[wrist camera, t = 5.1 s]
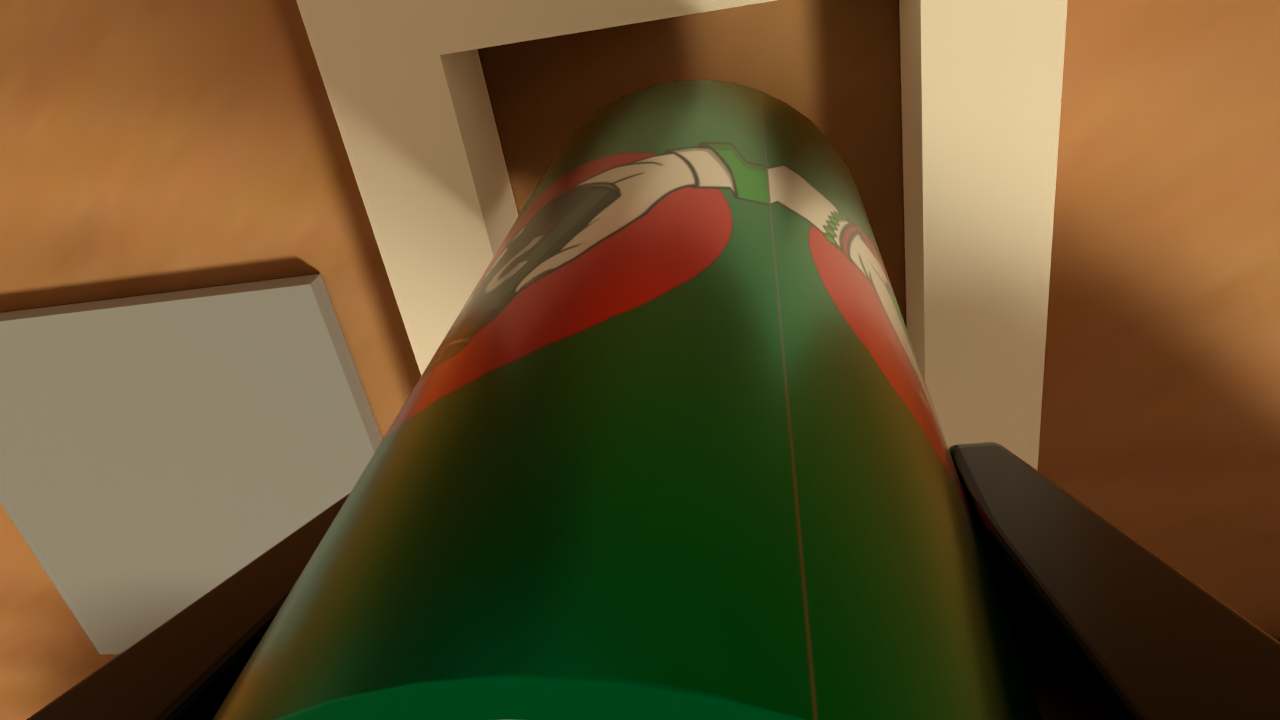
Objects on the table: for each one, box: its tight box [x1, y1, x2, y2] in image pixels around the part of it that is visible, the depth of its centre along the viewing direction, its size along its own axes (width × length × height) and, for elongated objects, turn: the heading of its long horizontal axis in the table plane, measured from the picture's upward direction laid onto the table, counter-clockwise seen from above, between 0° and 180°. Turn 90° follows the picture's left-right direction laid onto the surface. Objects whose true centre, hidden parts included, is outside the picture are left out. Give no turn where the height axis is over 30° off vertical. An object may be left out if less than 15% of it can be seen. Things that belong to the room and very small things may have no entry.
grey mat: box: [0, 274, 382, 655], centre depth 21 cm, size 10×10×1 cm
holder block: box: [296, 0, 1068, 471], centre depth 16 cm, size 11×11×2 cm
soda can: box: [213, 80, 1043, 720], centre depth 9 cm, size 5×5×12 cm
